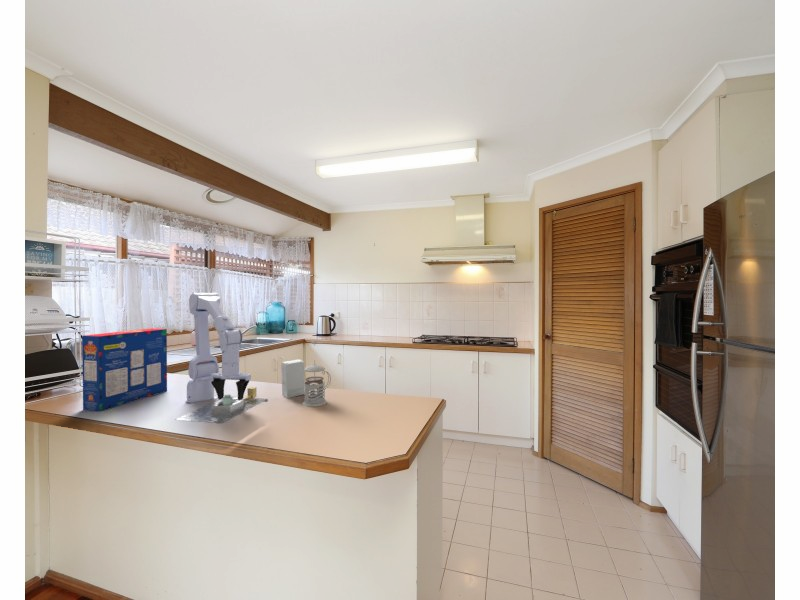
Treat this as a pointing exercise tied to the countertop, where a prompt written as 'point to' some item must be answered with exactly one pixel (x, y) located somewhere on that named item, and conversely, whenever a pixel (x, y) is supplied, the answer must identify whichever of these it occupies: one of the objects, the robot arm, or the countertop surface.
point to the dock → (221, 410)
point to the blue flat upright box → (123, 367)
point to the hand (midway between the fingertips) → (230, 399)
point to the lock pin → (251, 393)
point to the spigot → (227, 399)
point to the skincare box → (293, 378)
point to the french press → (315, 386)
